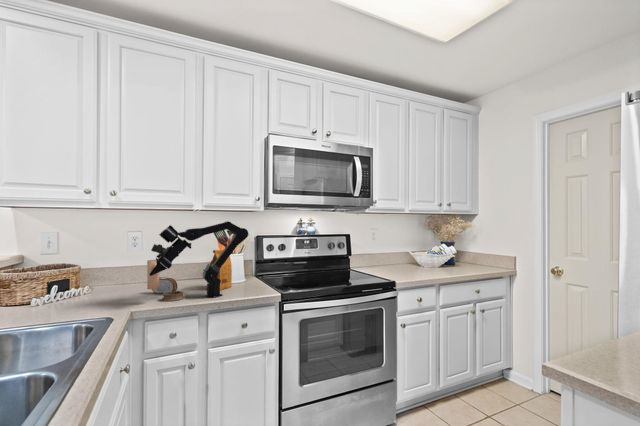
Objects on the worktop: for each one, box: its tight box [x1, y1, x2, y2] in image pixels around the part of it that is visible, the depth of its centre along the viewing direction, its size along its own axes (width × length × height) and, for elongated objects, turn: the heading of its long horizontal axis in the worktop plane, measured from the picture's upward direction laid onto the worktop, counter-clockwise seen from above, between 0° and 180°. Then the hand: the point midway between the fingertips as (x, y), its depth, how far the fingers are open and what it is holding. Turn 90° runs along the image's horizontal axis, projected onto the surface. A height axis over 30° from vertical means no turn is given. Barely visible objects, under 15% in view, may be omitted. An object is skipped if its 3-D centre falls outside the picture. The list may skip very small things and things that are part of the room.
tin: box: [151, 276, 178, 295], centre depth 175 cm, size 15×3×8 cm, turn 74°
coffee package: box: [209, 248, 233, 291], centre depth 187 cm, size 10×12×22 cm
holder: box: [162, 290, 184, 302], centre depth 162 cm, size 9×9×3 cm
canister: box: [146, 259, 160, 290], centre depth 155 cm, size 5×5×13 cm
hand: (149, 274), depth 155 cm, fingers closed on canister, 5 cm apart
